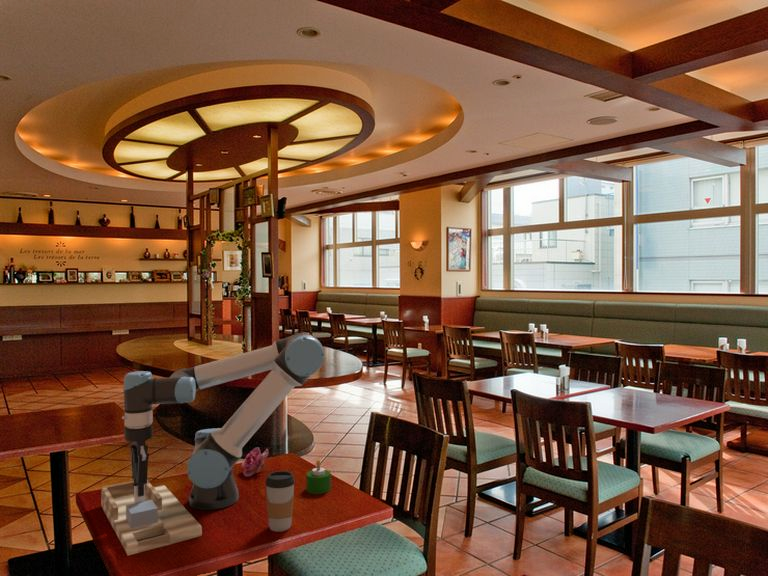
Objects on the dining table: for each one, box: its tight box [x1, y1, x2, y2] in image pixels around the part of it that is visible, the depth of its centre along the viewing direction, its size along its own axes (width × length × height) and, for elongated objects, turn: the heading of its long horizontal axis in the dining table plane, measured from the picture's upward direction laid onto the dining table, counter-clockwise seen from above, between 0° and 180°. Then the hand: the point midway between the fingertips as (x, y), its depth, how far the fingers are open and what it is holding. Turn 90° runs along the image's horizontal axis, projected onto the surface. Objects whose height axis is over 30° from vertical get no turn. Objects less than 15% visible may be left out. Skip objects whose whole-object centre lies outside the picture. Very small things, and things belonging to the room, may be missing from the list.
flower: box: [241, 447, 270, 477], centre depth 203 cm, size 11×10×10 cm
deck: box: [100, 479, 203, 556], centre depth 162 cm, size 39×19×6 cm, turn 36°
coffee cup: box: [265, 470, 296, 533], centre depth 158 cm, size 8×8×15 cm
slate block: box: [126, 500, 158, 528], centre depth 156 cm, size 7×7×4 cm
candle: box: [305, 459, 332, 495], centre depth 187 cm, size 8×8×10 cm
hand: (140, 506), depth 160 cm, fingers closed
